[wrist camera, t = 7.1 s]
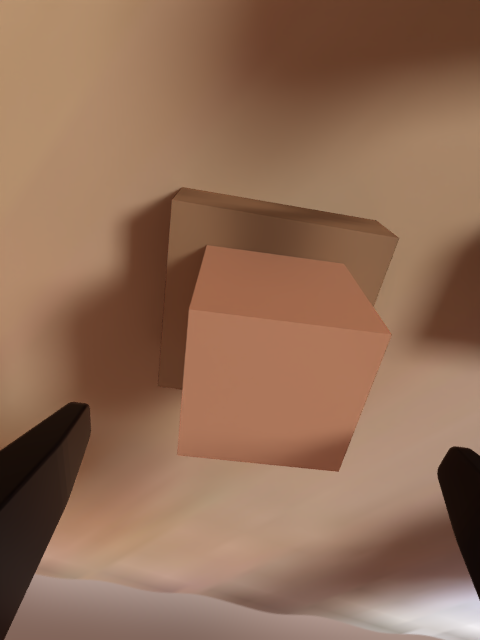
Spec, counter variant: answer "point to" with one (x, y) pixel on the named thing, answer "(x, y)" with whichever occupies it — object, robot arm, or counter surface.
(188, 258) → the walnut slab
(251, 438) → the terracotta cube
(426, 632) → the counter surface
